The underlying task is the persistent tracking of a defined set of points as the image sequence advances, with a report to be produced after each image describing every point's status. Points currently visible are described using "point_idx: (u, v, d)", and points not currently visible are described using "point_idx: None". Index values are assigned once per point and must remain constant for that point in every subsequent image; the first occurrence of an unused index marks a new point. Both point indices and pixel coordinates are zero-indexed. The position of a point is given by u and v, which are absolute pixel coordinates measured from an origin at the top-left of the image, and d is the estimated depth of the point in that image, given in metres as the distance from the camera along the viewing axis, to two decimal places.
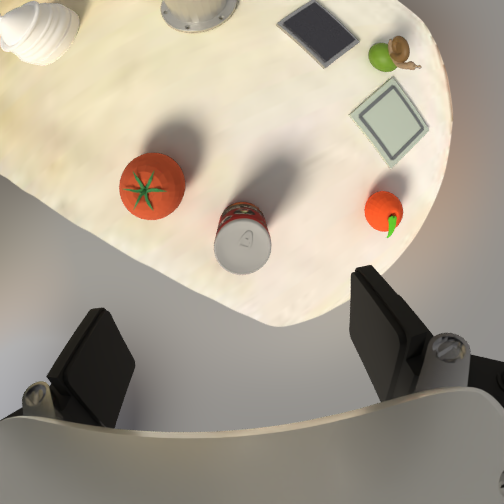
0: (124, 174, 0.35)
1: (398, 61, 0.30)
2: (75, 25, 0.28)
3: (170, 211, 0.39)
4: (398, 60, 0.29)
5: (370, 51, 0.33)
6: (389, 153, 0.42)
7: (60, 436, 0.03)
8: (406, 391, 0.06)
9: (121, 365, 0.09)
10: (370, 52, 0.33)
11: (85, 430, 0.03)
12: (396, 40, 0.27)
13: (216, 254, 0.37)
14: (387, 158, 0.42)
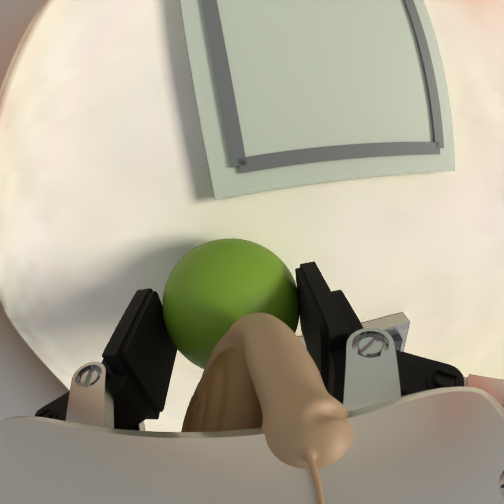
0: None
1: None
2: None
3: None
4: None
5: None
6: None
7: (60, 436, 0.03)
8: (333, 382, 0.07)
9: (167, 346, 0.10)
10: None
11: (85, 430, 0.03)
12: None
13: None
14: None
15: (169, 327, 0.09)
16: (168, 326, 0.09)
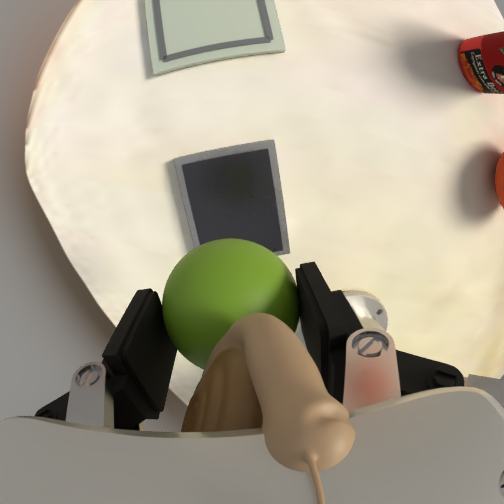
0: None
1: None
2: None
3: None
4: None
5: None
6: None
7: (60, 436, 0.03)
8: (333, 382, 0.07)
9: (167, 346, 0.10)
10: None
11: (85, 430, 0.03)
12: None
13: None
14: None
15: (169, 327, 0.09)
16: (168, 326, 0.09)
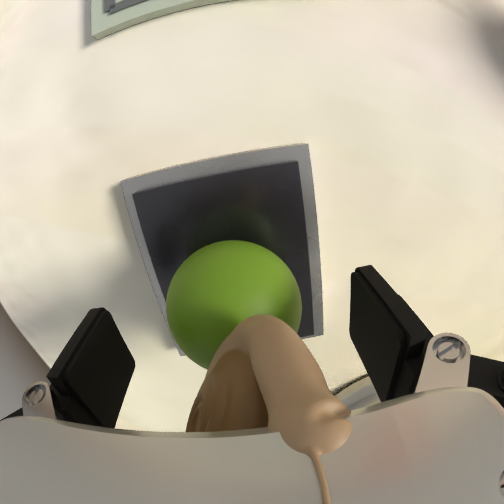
0: None
1: None
2: None
3: None
4: None
5: None
6: None
7: (60, 436, 0.03)
8: (406, 391, 0.06)
9: (121, 365, 0.09)
10: None
11: (85, 430, 0.03)
12: None
13: None
14: None
15: (173, 328, 0.09)
16: (172, 327, 0.10)
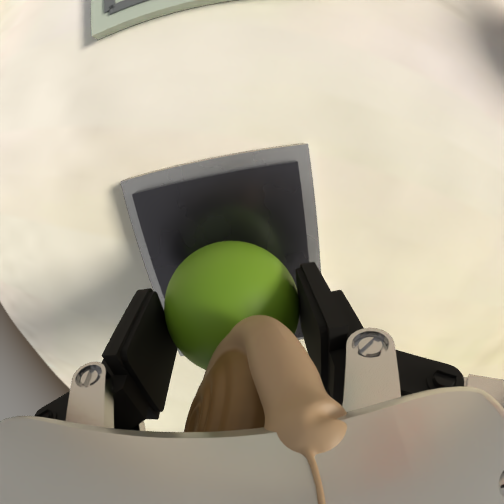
0: None
1: None
2: None
3: None
4: None
5: None
6: None
7: (60, 436, 0.03)
8: (333, 382, 0.07)
9: (167, 346, 0.10)
10: None
11: (85, 430, 0.03)
12: None
13: None
14: None
15: (171, 329, 0.09)
16: (170, 328, 0.10)
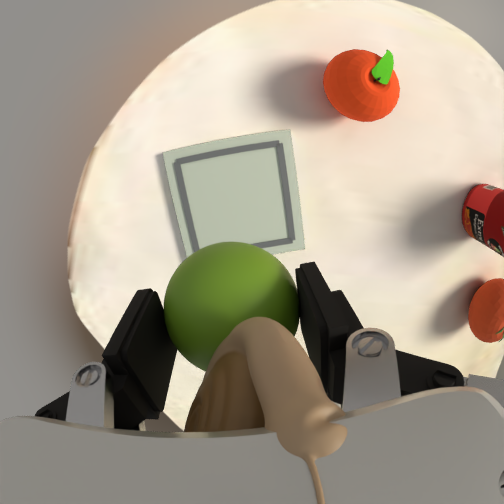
0: None
1: None
2: None
3: None
4: None
5: None
6: (278, 154, 0.25)
7: (60, 436, 0.03)
8: (333, 382, 0.07)
9: (167, 346, 0.10)
10: None
11: (85, 430, 0.03)
12: None
13: None
14: (287, 149, 0.24)
15: (170, 330, 0.09)
16: (169, 329, 0.09)
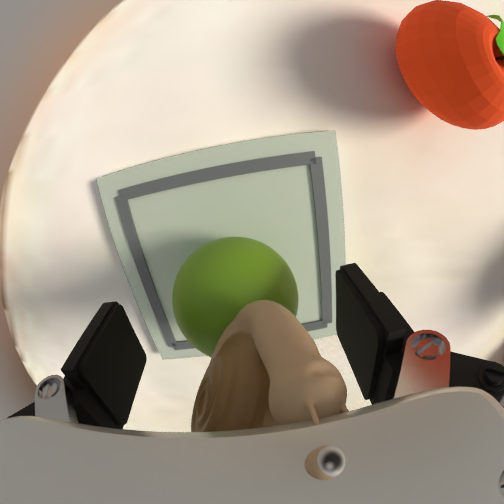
0: None
1: None
2: None
3: None
4: None
5: None
6: (313, 179, 0.13)
7: (60, 436, 0.03)
8: (386, 387, 0.06)
9: (133, 359, 0.10)
10: None
11: (85, 430, 0.03)
12: None
13: None
14: (329, 170, 0.13)
15: (179, 318, 0.10)
16: (178, 317, 0.10)
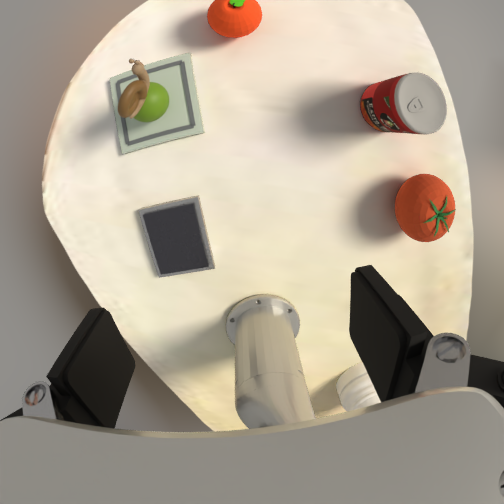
0: (436, 239, 0.34)
1: (145, 83, 0.24)
2: (347, 375, 0.52)
3: (434, 178, 0.32)
4: (144, 84, 0.24)
5: (162, 114, 0.30)
6: (181, 69, 0.30)
7: (60, 436, 0.03)
8: (406, 391, 0.06)
9: (121, 365, 0.09)
10: (163, 112, 0.30)
11: (85, 430, 0.03)
12: (129, 111, 0.25)
13: (443, 120, 0.24)
14: (187, 65, 0.30)
15: None
16: None
